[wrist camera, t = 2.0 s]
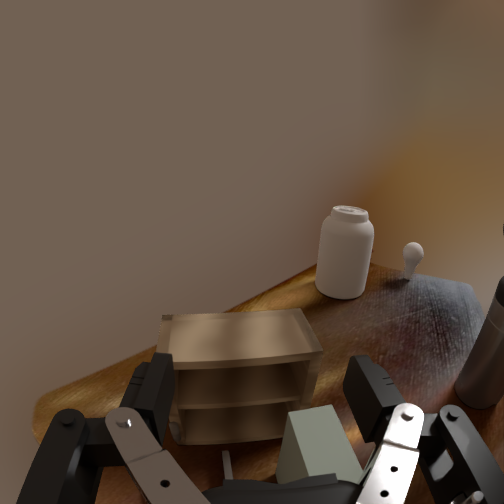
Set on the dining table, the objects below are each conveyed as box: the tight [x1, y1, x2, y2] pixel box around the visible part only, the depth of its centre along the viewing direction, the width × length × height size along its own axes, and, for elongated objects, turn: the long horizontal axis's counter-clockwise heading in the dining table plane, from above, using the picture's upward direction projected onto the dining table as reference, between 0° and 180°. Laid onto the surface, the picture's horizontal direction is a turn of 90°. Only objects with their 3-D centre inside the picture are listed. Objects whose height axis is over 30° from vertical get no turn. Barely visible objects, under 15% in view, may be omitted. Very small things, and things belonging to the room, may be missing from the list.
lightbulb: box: [403, 242, 424, 280], centre depth 74 cm, size 6×6×11 cm
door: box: [275, 405, 363, 484], centre depth 21 cm, size 5×8×13 cm, turn 9°
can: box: [315, 206, 374, 299], centre depth 68 cm, size 12×12×20 cm
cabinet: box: [156, 308, 323, 479], centre depth 27 cm, size 18×19×15 cm
